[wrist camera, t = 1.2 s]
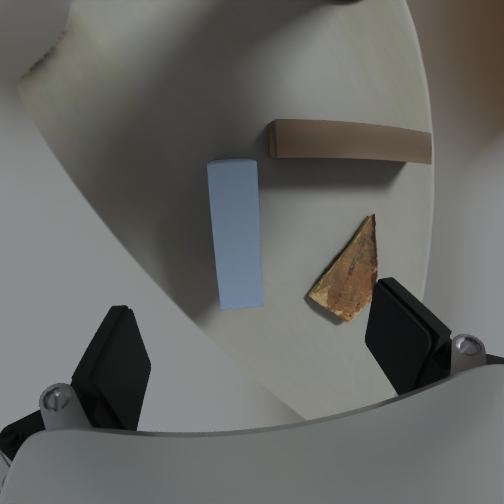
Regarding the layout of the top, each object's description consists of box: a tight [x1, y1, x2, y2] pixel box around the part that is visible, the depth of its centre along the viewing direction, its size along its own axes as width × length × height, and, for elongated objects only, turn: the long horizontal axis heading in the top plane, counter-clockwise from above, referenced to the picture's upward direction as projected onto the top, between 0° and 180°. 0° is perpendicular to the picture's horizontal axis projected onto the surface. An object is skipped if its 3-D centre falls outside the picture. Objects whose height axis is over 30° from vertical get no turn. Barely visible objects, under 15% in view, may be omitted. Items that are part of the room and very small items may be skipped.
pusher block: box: [207, 158, 263, 310], centre depth 22 cm, size 3×10×8 cm, turn 3°
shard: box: [308, 214, 378, 323], centre depth 28 cm, size 11×8×2 cm
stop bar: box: [267, 119, 432, 164], centre depth 22 cm, size 3×15×4 cm, turn 93°
